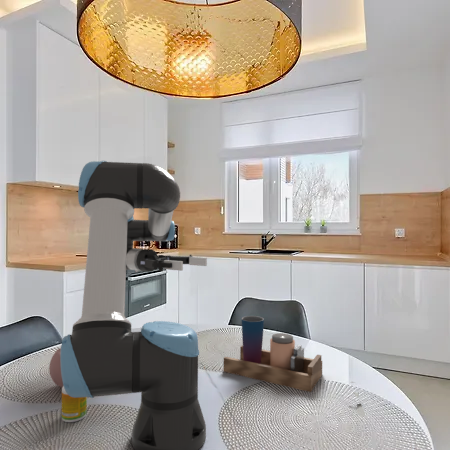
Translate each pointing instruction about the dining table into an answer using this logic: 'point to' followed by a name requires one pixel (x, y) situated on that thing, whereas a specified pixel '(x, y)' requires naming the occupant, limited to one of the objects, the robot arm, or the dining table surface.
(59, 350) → the pink round piece
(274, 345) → the jar
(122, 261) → the robot arm
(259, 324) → the cup
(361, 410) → the spoon
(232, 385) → the dining table surface
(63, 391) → the supplement bottle
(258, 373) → the wooden tray
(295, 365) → the pusher
